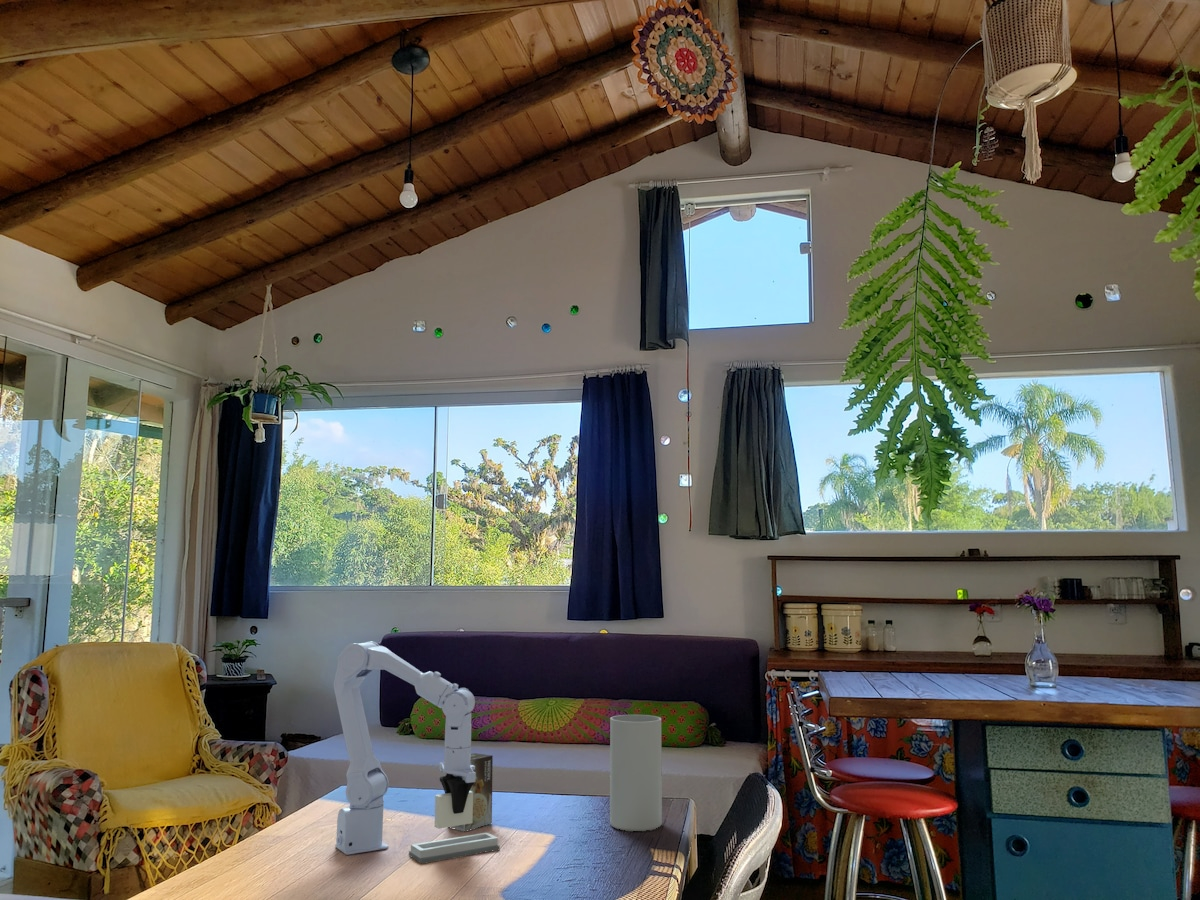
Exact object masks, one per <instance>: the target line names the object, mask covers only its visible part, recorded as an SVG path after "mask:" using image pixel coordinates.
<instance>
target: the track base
mask: <svg viewBox="0 0 1200 900" xmlns="http://www.w3.org/2000/svg"><path fill="white" fill-rule="evenodd" d="M498 844H499V837H497V836H496V835H493V834H490V833H489V832H482V833H475V834H469V835H463V836H457V837H450V838H445V839H443V838H442V839H438V840H433V841H425V842H419V843H413V844H411V845H410V850H409V851H408V855H409V857H411V856H412V857H411V858H412V859H414V858H415V859H414V860H415V861H417V860H418V862H419V863H420V862H421V863H420V864H427V863H426V862H428V863H433V862H439V861H444V859H445V860H449V858H451V859H455V858H454V857H456V858H460V856H462V857H466V856H465V855H468V856H471V855H470V854H473V855H477V854H476V853H479V854H481V853H480V852H485V851H491V852H493V851H492V850H496V851H499V850H498V849H500V845H498ZM485 853H486V852H485Z"/></svg>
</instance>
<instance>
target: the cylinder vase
mask: <svg viewBox="0 0 1200 900" xmlns="http://www.w3.org/2000/svg"><path fill="white" fill-rule="evenodd" d="M609 720H610V721H609V722H610V723H609V724H610V725H609V726H610V729H609V730H610V731H609V733H610V734H609V735H610V736H609V738H610V739H609V740H610V741H609V742H610V743H609V745H610V747H609V752H610V753H609V758H610V759H609V823H610V825H611V827H613V828H615V829H617V830H619V829H620V831H624V830H625V831H624V832H633V831H642V832H647V831H646V830H650V831H653V830H652V829H654V830H657V829H659V828H660V827H661V826H662V823H663V816H662V815H663V807H662V806H663V801H662V800H663V798H662V796H663V794H662V789H663V787H662V785H663V783H662V781H663V779H662V765H663V764H662V758H663V757H662V717H660V716H656V715H650V714H648V715H647V714H620V715H613V716H611V717H610V718H609ZM658 827H659V828H658ZM656 828H657V829H656Z"/></svg>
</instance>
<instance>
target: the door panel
mask: <svg viewBox="0 0 1200 900" xmlns="http://www.w3.org/2000/svg"><path fill="white" fill-rule="evenodd" d="M472 821H473V792H472V791H469V794H468V796H467V800H466V804H465V808H464V811H463V813H457V814H454V813H453V808H452V796H451V793H446V794H445V793H440V794H439V793H438V794H435V797H434V828H437V829H438V830H439V829H444V828H448V827H452V826H458V825H465V824H471V823H472Z"/></svg>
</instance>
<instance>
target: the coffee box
mask: <svg viewBox="0 0 1200 900" xmlns="http://www.w3.org/2000/svg"><path fill="white" fill-rule="evenodd" d="M493 757H494V756H493V755H489V754H485V753H477V752H473V753H471V760H470V765H474V766H475V769H474V770H473V772H475V773H476V780H475V782H474V784H473V785H472V787H471V789H470V791H472V792H473V821H472V823H471V824H465V825H458V826H452V827H451V828H455V829H458V830H457V831H460V830H462V831H461V832H464V831H466V832H468V831H467V830H469V831H471V830H470V829H473V830H475V829H474V828H476V829H478V828H477V827H479V828H481V827H480V826H483V825H486V826H488V825H487V824H489V825H492V824H493ZM491 823H492V824H491ZM483 827H484V826H483ZM451 828H450V829H451ZM455 829H454V830H455Z"/></svg>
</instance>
